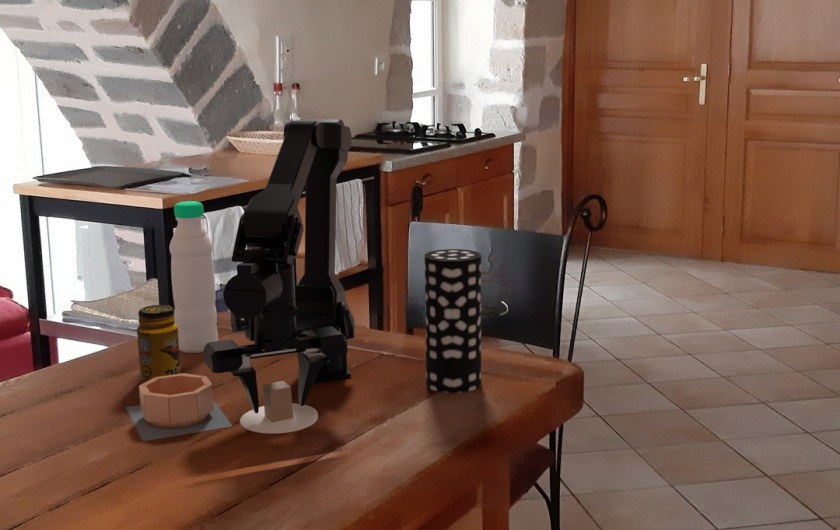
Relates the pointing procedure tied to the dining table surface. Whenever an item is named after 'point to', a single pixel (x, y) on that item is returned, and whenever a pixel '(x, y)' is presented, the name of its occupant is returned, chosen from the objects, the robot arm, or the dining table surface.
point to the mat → (153, 432)
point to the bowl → (176, 400)
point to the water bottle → (193, 279)
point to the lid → (279, 412)
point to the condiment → (158, 342)
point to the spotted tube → (453, 320)
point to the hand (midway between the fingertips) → (278, 408)
